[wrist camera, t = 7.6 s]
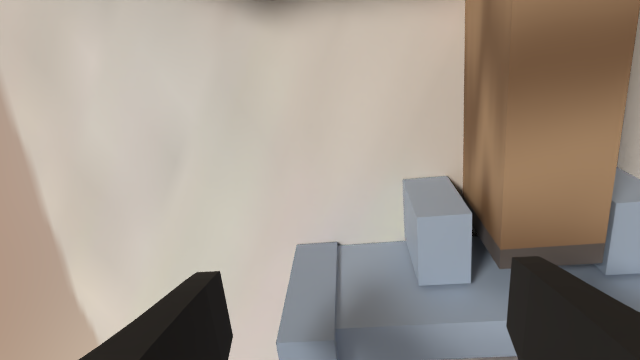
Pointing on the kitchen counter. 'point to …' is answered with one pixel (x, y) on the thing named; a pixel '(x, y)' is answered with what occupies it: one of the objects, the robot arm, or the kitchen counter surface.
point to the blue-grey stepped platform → (431, 284)
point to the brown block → (544, 123)
